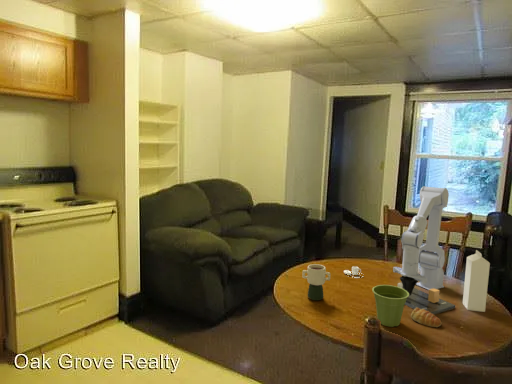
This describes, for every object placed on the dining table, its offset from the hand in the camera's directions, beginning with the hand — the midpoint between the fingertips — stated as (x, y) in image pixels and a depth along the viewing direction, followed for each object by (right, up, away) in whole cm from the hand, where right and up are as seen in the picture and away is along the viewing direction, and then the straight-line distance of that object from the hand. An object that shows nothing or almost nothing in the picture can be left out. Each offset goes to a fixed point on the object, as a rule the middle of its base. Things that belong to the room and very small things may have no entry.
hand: (408, 294), depth 142 cm
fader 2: (+8, -1, -3) cm, 9 cm away
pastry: (-1, -5, -16) cm, 17 cm away
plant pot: (-14, -5, -18) cm, 23 cm away
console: (+4, -2, +1) cm, 5 cm away
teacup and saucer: (-14, +1, +31) cm, 34 cm away
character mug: (-36, -2, +1) cm, 37 cm away
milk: (+23, -4, -5) cm, 24 cm away
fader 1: (-1, -1, +3) cm, 3 cm away
